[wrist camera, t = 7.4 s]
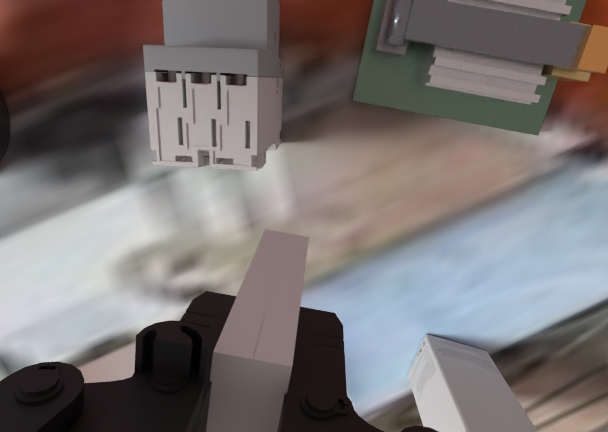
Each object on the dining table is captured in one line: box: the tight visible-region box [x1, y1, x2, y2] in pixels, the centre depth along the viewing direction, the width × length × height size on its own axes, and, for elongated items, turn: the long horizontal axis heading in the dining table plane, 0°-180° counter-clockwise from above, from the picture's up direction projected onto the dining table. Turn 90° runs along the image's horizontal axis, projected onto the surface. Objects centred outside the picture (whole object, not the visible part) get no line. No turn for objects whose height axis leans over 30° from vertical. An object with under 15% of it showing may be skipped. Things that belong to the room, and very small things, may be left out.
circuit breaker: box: [143, 0, 283, 171], centre depth 34 cm, size 8×14×15 cm, turn 178°
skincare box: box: [408, 334, 538, 432], centre depth 43 cm, size 8×7×16 cm
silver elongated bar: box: [384, 0, 608, 74], centre depth 31 cm, size 16×4×2 cm, turn 80°
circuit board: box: [352, 0, 591, 135], centre depth 36 cm, size 18×14×7 cm
